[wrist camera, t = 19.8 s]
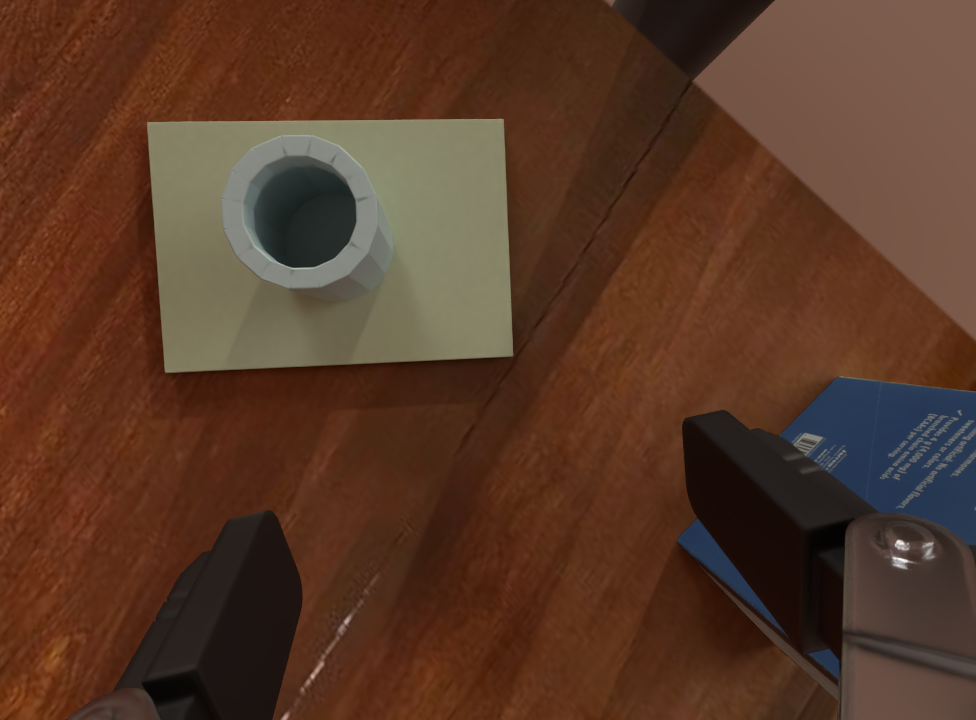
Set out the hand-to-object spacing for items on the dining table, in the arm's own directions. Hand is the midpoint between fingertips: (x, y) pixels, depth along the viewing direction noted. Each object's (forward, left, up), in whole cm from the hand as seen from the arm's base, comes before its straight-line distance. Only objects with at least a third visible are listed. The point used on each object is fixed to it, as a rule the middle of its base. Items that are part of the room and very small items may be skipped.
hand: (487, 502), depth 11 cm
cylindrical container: (+6, -9, -23) cm, 25 cm away
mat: (+6, -9, -24) cm, 26 cm away
